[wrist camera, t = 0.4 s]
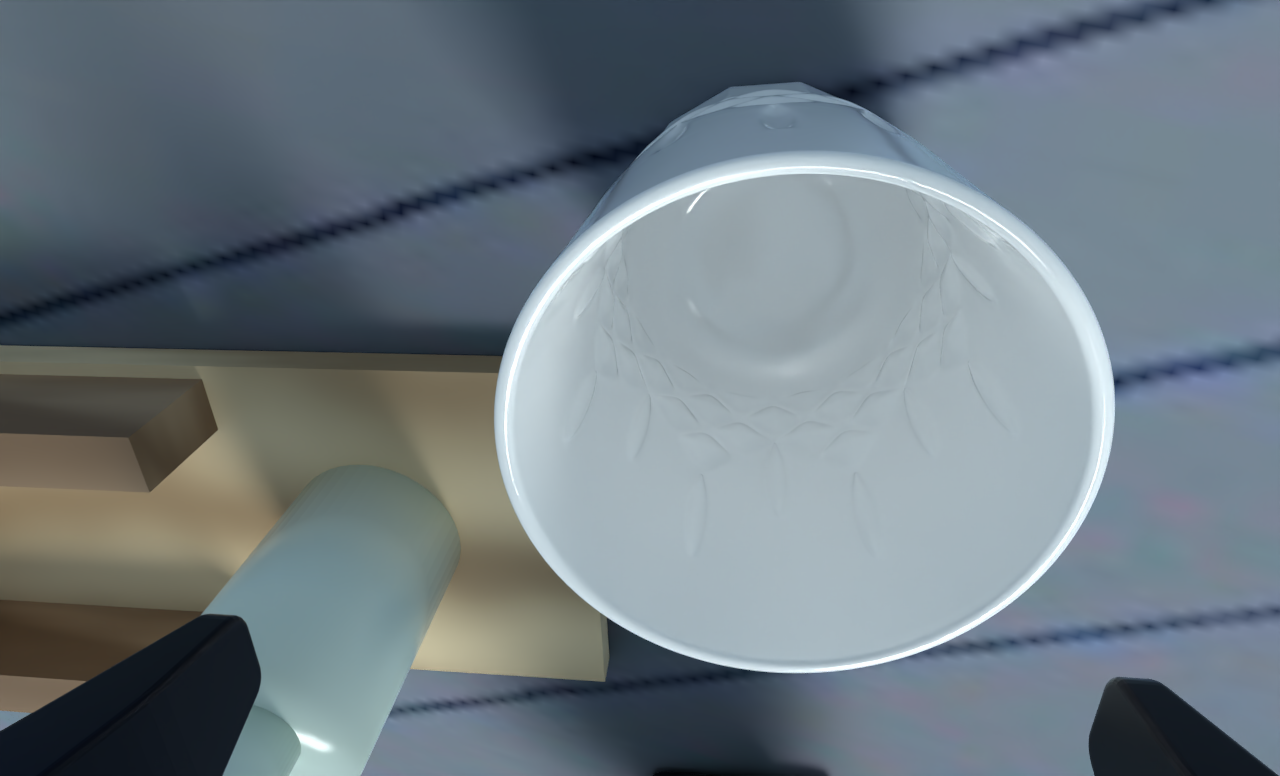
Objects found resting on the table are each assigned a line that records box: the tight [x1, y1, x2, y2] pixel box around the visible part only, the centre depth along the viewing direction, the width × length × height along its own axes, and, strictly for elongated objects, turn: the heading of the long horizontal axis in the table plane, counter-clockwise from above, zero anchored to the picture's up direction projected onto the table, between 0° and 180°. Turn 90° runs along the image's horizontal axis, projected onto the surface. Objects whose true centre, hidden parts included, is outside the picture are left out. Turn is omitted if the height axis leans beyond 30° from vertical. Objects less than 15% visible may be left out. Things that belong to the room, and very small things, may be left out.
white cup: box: [494, 82, 1115, 673], centre depth 15 cm, size 8×8×10 cm
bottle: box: [200, 465, 461, 776], centre depth 19 cm, size 5×5×10 cm
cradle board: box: [0, 345, 609, 713], centre depth 23 cm, size 11×23×4 cm, turn 92°
